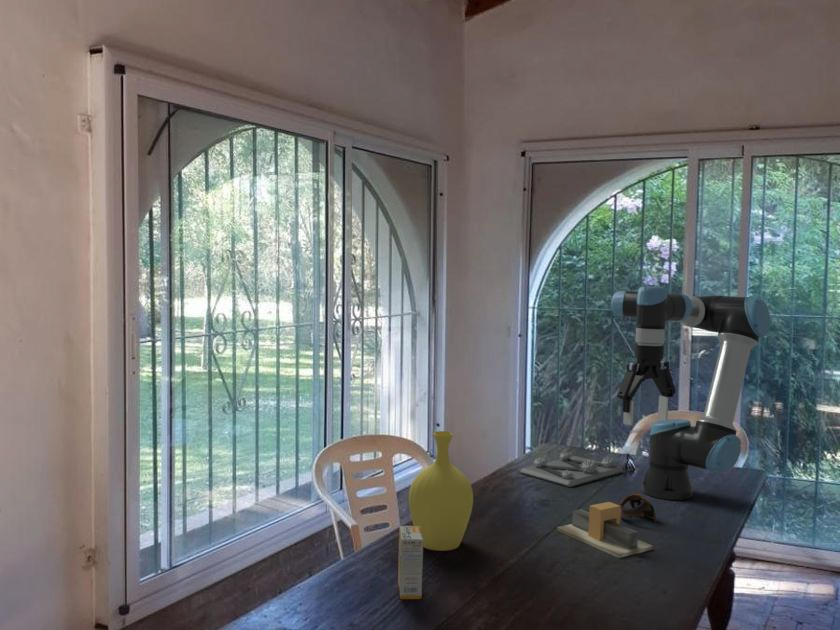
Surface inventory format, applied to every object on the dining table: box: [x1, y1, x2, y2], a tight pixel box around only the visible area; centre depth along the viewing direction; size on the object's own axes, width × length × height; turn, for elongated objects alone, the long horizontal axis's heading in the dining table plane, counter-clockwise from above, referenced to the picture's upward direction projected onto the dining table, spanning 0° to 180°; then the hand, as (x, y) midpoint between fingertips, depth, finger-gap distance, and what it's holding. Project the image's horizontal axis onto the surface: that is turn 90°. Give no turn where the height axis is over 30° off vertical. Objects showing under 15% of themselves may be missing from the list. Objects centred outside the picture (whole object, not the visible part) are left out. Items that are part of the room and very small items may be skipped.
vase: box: [408, 430, 474, 552], centre depth 201 cm, size 16×16×28 cm
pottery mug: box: [619, 493, 657, 523], centre depth 226 cm, size 12×10×8 cm
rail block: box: [556, 508, 654, 559], centre depth 208 cm, size 12×22×5 cm, turn 33°
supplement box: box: [397, 525, 424, 600], centre depth 172 cm, size 8×5×13 cm, turn 5°
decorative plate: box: [520, 451, 624, 488], centre depth 272 cm, size 30×22×7 cm
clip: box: [588, 501, 621, 541], centre depth 208 cm, size 7×4×8 cm, turn 123°
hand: (645, 422), depth 218 cm, fingers open, 13 cm apart
